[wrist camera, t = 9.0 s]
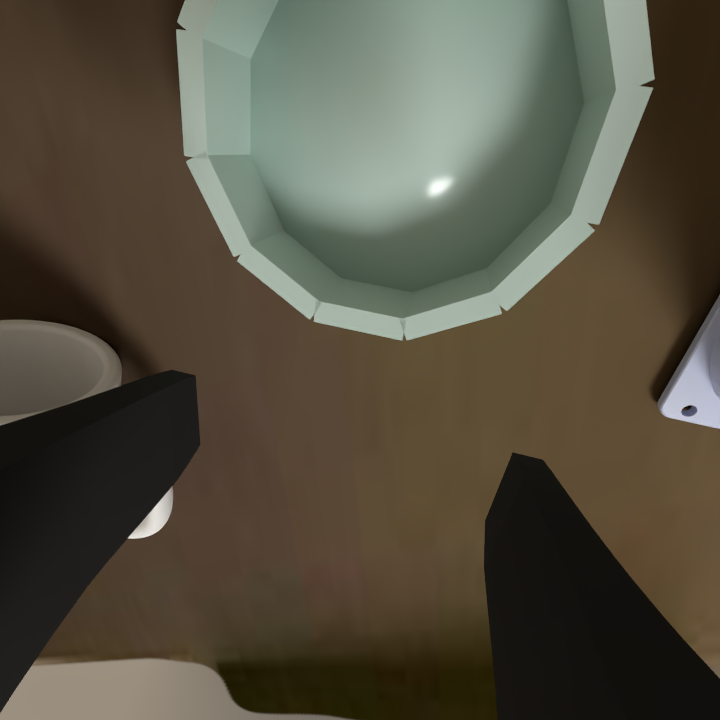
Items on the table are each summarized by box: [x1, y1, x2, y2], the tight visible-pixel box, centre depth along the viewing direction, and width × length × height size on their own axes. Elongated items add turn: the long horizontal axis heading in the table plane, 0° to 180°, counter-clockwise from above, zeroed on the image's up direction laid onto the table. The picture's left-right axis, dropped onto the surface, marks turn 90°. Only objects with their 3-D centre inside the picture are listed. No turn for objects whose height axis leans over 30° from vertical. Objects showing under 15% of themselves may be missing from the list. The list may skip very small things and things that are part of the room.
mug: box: [0, 320, 173, 538], centre depth 21 cm, size 12×10×8 cm
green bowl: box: [176, 0, 655, 340], centre depth 13 cm, size 13×13×4 cm
